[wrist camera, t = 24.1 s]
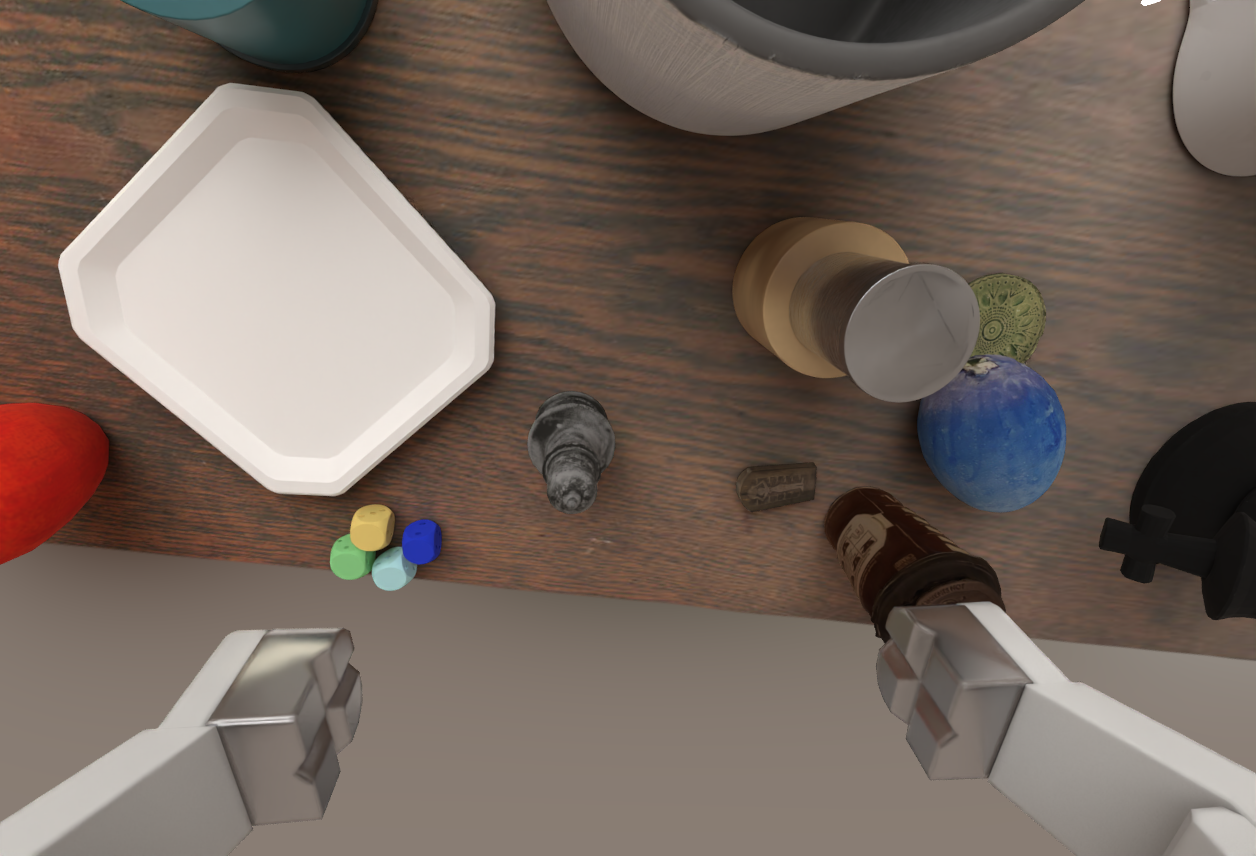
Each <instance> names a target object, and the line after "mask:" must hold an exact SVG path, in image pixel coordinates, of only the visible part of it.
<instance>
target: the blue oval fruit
mask: <svg viewBox="0 0 1256 856" xmlns="http://www.w3.org/2000/svg"><path fill="white" fill-rule="evenodd" d="M917 431H918V437H919V442H920V446H921V449H922V453H923V456H924V458H925V460H926V462H927V464H928V466H929V467H930V469H931V471H932V472H933V474H934V475H935V476H936V478H937V479H938V480H939V482H940V483H941V484H942V485H943V486H944V487H945V488H946V489H947V490H948V491H949V492H950V493H952V494H953V495H954V496H955V497H957V498H958V499H959V500H961V501H963V502H964V503H966V504H968V505H969V506H972V507H974V508H977V509H979V510H984V511H990V512H1010V511H1014V510H1018V509H1020V508H1023V507H1025V506H1027V505H1029V504H1031V503H1033V502H1034V501H1035V500H1037V499H1038V498H1039V497H1040V496H1041V495H1043V493H1045V492H1046V491H1047V489H1048V488H1049V487H1050V486H1051V484H1052V483H1053V481H1054V480H1055V478H1056V476H1057V474H1058V472H1059V470H1060V466H1061V464H1062V461H1063V457H1064V453H1065V445H1066V424H1065V417H1064V411H1063V409H1062V406H1061V404H1060V402H1059V400H1058V397H1057V395H1056V393H1055V391H1054V390H1053V389H1052V388H1051V387H1050V386H1049V384H1048V383H1047V382H1046V381H1045V380H1044V378H1043V377H1042V376H1040V375H1039V374H1038V373H1036V372H1035V371H1034V370H1032V369H1031V368H1029V367H1027V366H1026V365H1024V364H1022V363H1019V362H1017V361H1016V360H1015V359H1013V358H1010V357H1006V356H1002V355H991V354H987V355H975V356H972V357H970V358H969V359H968V361H967V363H966V364H965V366H964V367H963V368H962V370H961V371H960V372H959V373H958V374H957V375H956V377H955V378H953V379H952V380H951V381H950V382H949V383H948V384H947V385H945V386H944V387H943V388H941V389H940V390H938V391H936V392H935V393H933V394H931V395H929V396H926V397H924V398H922V400H921V402H920V407H919V413H918V419H917Z"/></svg>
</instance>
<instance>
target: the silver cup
mask: <svg viewBox="0 0 1256 856" xmlns="http://www.w3.org/2000/svg"><path fill="white" fill-rule="evenodd" d="M789 320H790V325H791V328H792V330H793V333H794V334H795V336H796V338H797V339H798V341H799V342H800V343H801V344H802V345H803V346H804V347H806V348H807V349H808V350H810V351H811V352H813V353H814V354H816V355H817V356H819V357H820V358H822V359H824V360H825V361H827V362H828V363H830V364H831V365H833V366H834V367H836V368H837V369H839V370H840V371H842V372H843V373H845V374H846V375H848V377H849V378H850V379H851V381H852V382H853V383H854V384H855V385H856V386H857V387H859V388H860V389H861V390H863V391H864V392H866V393H867V394H869V395H870V396H872V397H874V398H877V399H880V400H883V401H888V402H909V401H914V400H918V399H921V398H924V397H926V396H929V395H931V394H933V393H935V392H936V391H938V390H940V389H941V388H943V387H944V386H945V385H947V384H948V383H949V382H950V381H951V380H952V379H953V378H955V377H956V375H957V374H958V373H959V372H960V371H961V370H962V368H963V367H964V366H965V364H966V363H967V361H968V359H969V358H970V356H971V354H972V352H973V350H974V347H975V345H976V341H977V338H978V334H979V328H980V312H979V306H978V302H977V299H976V296H975V294H974V292H973V290H972V289H971V287H970V285H969V284H968V283H967V282H966V281H965V279H963V278H962V277H961V276H960V275H959V274H957V273H956V272H954V271H952V270H951V269H948V268H946V267H943V266H939V265H934V264H929V263H909V264H907V263H902V262H897V261H893V260H888V259H883V258H879V257H874V256H869V255H865V254H860V253H855V252H838V253H834V254H831V255H828V256H825V257H823V258H821V259H820V260H818V261H816V262H815V263H814V264H812V265H811V266H810V267H809V268H808V269H807V270H806V271H805V272H804V273H803V274H802V276H801V277H800V278H799V280H798V282H797V283H796V285H795V287H794V289H793V292H792V295H791V298H790V303H789Z"/></svg>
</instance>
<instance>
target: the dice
mask: <svg viewBox="0 0 1256 856" xmlns="http://www.w3.org/2000/svg"><path fill="white" fill-rule="evenodd" d="M394 525H395V516H394V513H393V512H392V511H391V510H390V509H389V508H388V507H386V506H383V505H378V504H373V505H367V506H364V507H362V508H360V509H359V510H357V511H356V513H355V514H354V517H353V519H352V523H351V529H350V534H347V535H345V536H342V537H341V538H339V539H338V540H337V541H336V542H335V543H334V545H333V547H332V550H331V556H330V566H331V570H332V571H333V573H334V574H335V575H337V576H338V577H340V578H343V579H347V580H353V579H358V578H360V577H363V576H365V575H367V574H368V573H369V572H370V571H371V570H372V577H373V580H374V583H375V584H376V586H377V587H379V588H381V589H383V590H386V591H394V590H398V589H400V588H402V587H404V586H405V585H407V584H408V583H409V582H410V581H411V580H412V579H413V578H414V576H415V574H416V571H417V564H426V563H429V562H431V561H433V560H434V559H436V558H437V557H438V556H439V554H440V550H441V542H442V537H441V529H440V527H439V525H438V524H436V523H435V522H433V521H431V520H418V521H415V522H413V523H411V524H410V525H408V526H407V527H406V529H405V530H404V533H403V539H402V547H393V548H391V549H389V550H387V551H385V552H384V553H382V554H381V555H380V556H379V557H378V558H377V559H376V560H375V555H376V551H377V550H380V549H383V548H384V547H386V546H387V545H389V543H390V542H391V539H392V536H393V532H394Z"/></svg>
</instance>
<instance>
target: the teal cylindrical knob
mask: <svg viewBox="0 0 1256 856" xmlns="http://www.w3.org/2000/svg"><path fill="white" fill-rule="evenodd" d="M121 1H123V2H124V3H126V4H129V5H131V6H133V7H135V8H137V9H140V10H142V11H144V12H146V13H149V14H151V15H154V16H156V17H158V18H161V19H163V20H165V21H168V22H170V23H172V24H175V25H177V26H180V27H182V28H184V29H187V30H189V31H191V32H194V33H196V34H198V35H201V36H203V37H206V38H208V39H210V40H213V41H215V42H216V43H218V44H219V45H220V46H222V47H223V48H224V49H226V50H227V51H229V52H231V53H232V54H234V55H236V56H237V57H239V58H241V59H244V60H246V61H248V62H250V63H252V64H255V65H257V66H260V67H264V68H267V69H270V70H274V71H280V72H287V73H303V72H312V71H315V70H319V69H323V68H325V67H328V66H330V65H332V64H334V63H336V62H338V61H339V60H341V59H342V58H344V57H345V56H346V55H347V54H348V53H350V52H351V51H352V50H353V49H354V48H355V47H356V46H357V44H358V43H359V42H360V41H361V39H362V38H363V36H364V35H365V33H366V31H367V29H368V28H369V26H370V23H371V21H372V19H373V16H374V14H375V10H376V6H377V2H378V0H121Z"/></svg>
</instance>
